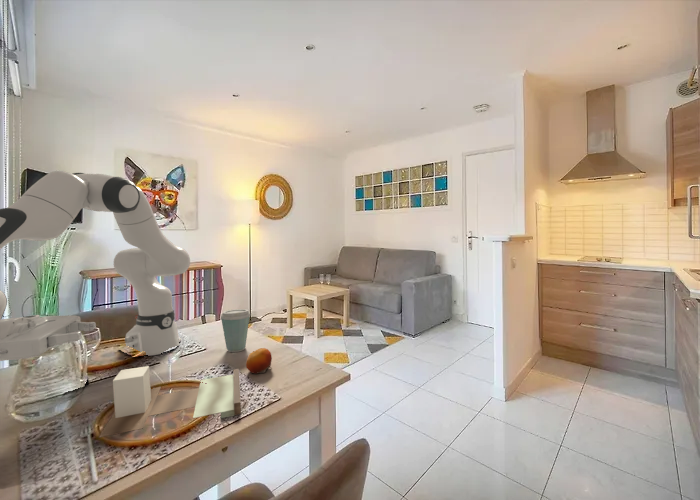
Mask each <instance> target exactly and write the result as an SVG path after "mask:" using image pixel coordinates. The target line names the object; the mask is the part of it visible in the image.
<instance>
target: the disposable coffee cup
mask: <svg viewBox="0 0 700 500" xmlns="http://www.w3.org/2000/svg"><path fill="white" fill-rule="evenodd" d="M250 317H251V312H250V310H249V309H246V308H245V309H244V308H240V309H231V310H230V309H228V310H224V311H222V313H221V315H220V319H221V323H222V330H223V335H224V341H225V347H226V348H225V349H226V351H227V352H229V353H238V352H243V351H244V350H246V349H245V348H246V344H247V337H248V331H249V321H250Z"/></svg>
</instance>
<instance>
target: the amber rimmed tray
mask: <svg viewBox="0 0 700 500" xmlns="http://www.w3.org/2000/svg"><path fill="white" fill-rule="evenodd" d="M232 370H233V374H227V375H221V376H217V377H211V378H204V379H200V382H201V383H200V382H199V387H197V388H192V389H186V390H181V391H174V392H168V393H164V394H163V393H162V394H159V393H160V391H161V388H162V386H158V387H152V388H153V389H151V402H150V404H149V406H148V408H147V410H146V412H145V413H140V414H134V415H129V416H124V417H119V418H115V412H114V413H113V414H112V416H111V417H110V419H109V421H108V422H107V423H106V425H105V426H104V427H103V430H102V432H101V433H100V435H99V436H98V438H103V437H107V436H113V435H117V434H123V433H128V432H132V431H137V430H141V429H143V428H144V427H145V424H146V422H147V419H148V418H149V417H150V416H155V415H160V414H166V413H170V412H177V411H182V410H187V409H191V408H194V412H193V416H192V418H193V419H195V418H201V417H205V416H210V415H215V414H219V413H220V419H224V418H228V417H233V416H238V415H242V405H241V403H242V402H241V387H240V386H241V384H240V369H239V368H236V369H232ZM202 382H203V383H202ZM205 383H207V384H205ZM143 430H144V429H143Z"/></svg>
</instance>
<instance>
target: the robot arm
mask: <svg viewBox="0 0 700 500" xmlns="http://www.w3.org/2000/svg"><path fill="white" fill-rule="evenodd" d="M82 209H84V210H89V211H92V212H93V211H94V212H104V213H106V212H108V213H113V216H114V219H115V222H116V224H117V226H118V229H119V231H120V233H121V235H122V237H123V240H124V241H125V242H126V243H127V244H129V245H131V246H133V248H126V249H122V250H119V251H118V252H117V253H116V255H115V256H114V259H113V268H114V270H115V272H116V273H117V274H118V275H120V276H121V277H123V278H124V279H125V280H127V281H128V283H130V285H131V286H132V288H133V290H134V293H135V295H136V299H137V308H138V309H137V310H138V314H137V315H135V318H134V319H136V322H135V324H134V325H133V327H132V328H131V329H130V330H129V331H128V332H126V333H125V338H124V342H125V344H126V346H129V347H132V348H134V349H136V350H138V351H140V352H142V351H145V352H146V355H148V356H149V357H150V356H157V355H162V354H163V353H162V352H164V351H166V350H168V349H169V348H172V347H175V346H178V345H179V344H180V343H181V342H182V338H181V337H180V336H179V331H178V324H177V322H176V321H175V310H174V307H173V293H172V291H171V290H170V288H169V287H167V286H165V285H163V284H161V283H160V282H159V281H158V279H157V277H173V276H177V275H181V274H184V273H186V272H187V271H188V269H189V267H190V264H191V259H190V254H189V253H188V252H187V251H186V250H185V249H184V248H182V247H179V246H178V245H176V244H174V243H173V242H171V241H170V240H169V239H168V237H166V236H165V235H164V233H163V231H162V230H161V228H160V227H159V224H158V222H157V219H156V216H155V214H154V211H153V207H152V206H151V204H150V202H149V200H148V198H147V196H146V195H145V193H144V192H143V190H142V189H141V188H140V187H138V186H137V185H136V184H135V183H134V182H133V181H131V180H129V179H127V178H124V177H121V176H113V175H110V174H109V175H108V174H104V173H85V172H73V173H71V172H68V171H64V170H54V171H50V172H48V173H47V174H45V175H44V176H42V177H41V178H40V179H38V180H37V181H36V182H35V183H33V184H32V185H30V187H29V188H28V189H27V190H26V191H25V192H24V193H23V194H21V196H20V197H19V198H18V199H17V200H16V201H15V202H14V203H12V204H11V205H9V206H8V207H4V208H0V250H1V249H3V248H4V247H5V246H6V245H8V244H10V243H12V242H14V241H18V240H25V241H32V242H45V241H50V240H51V241H52V240H54V239H57V238H58V237H60V235H62V234H63V233H64V232H65V231H66V230H67V229H68V228H69V226H70V225H72V223H73V221H74V220H75V218H76V217H78V214H79V213H80V211H81V210H82ZM7 305H8V298H7V296H6V294H5V292H4V291H3V290H1V289H0V362H3V361H11V360H21V359H30V358H35V357H39V356H41V355H42V354H44V353H45V352H47V351H49V350H50V349H52V348H53V347H56V346H60V345H63V344H67V343H73V342H78V341H79V340H81V339H82V332H89V331H90V332H92V331H94V330H95V329H96V327H97V325H96V322H95V321H89V322H88V321H87V322H86V321H81V320H82V319H81V316H79V315H76V314H73V315H69V314H68V315H48V316H40V314H33V315H26V316H22V317H13V318H11V317H10V318H3V317H4V315H5V311H6V308H7ZM180 341H181V342H180ZM179 342H180V343H179ZM179 346H180V345H179ZM161 353H162V354H161Z"/></svg>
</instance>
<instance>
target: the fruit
mask: <svg viewBox="0 0 700 500" xmlns="http://www.w3.org/2000/svg"><path fill="white" fill-rule="evenodd" d="M272 359H273V357H272V352H271V350H269V349H268V348H265V347H262V348H257V349H255V350H254V351H252V352H251V353H249V354H248V355H247V358H246V361H245V362H246V363H245V366H246V367H245V368H246V369H247V370H248V371H249V372H250V373H252V374H256V375H257V374H261V373H262V374H264V373H266V371H267V370H268V369H272V367H271V365H272Z"/></svg>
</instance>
